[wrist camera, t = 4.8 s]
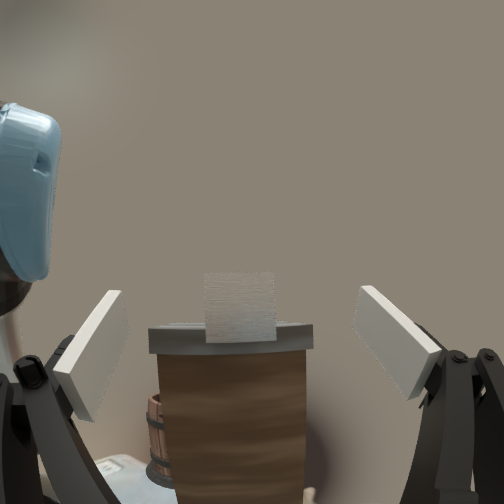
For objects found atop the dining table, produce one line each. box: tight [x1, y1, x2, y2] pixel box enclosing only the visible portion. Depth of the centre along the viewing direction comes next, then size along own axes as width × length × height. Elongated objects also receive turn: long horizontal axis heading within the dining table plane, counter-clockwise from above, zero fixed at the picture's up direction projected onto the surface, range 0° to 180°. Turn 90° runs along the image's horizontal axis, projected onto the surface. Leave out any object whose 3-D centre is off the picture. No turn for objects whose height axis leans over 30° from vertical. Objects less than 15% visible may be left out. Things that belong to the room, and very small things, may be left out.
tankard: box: [146, 393, 175, 489], centre depth 45 cm, size 24×17×20 cm
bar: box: [204, 272, 277, 343], centre depth 27 cm, size 32×3×3 cm, turn 7°
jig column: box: [148, 321, 313, 504], centre depth 23 cm, size 13×13×37 cm
